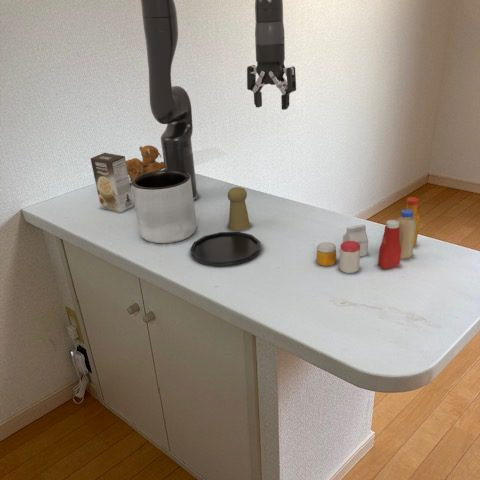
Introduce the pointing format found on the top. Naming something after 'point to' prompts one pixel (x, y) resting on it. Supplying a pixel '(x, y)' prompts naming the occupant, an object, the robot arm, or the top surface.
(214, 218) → the top surface
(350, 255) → the toy food
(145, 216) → the planter
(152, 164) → the stuffed squirrel
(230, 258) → the metal plate
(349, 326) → the top surface
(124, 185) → the coffee box
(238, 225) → the cork
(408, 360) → the top surface
